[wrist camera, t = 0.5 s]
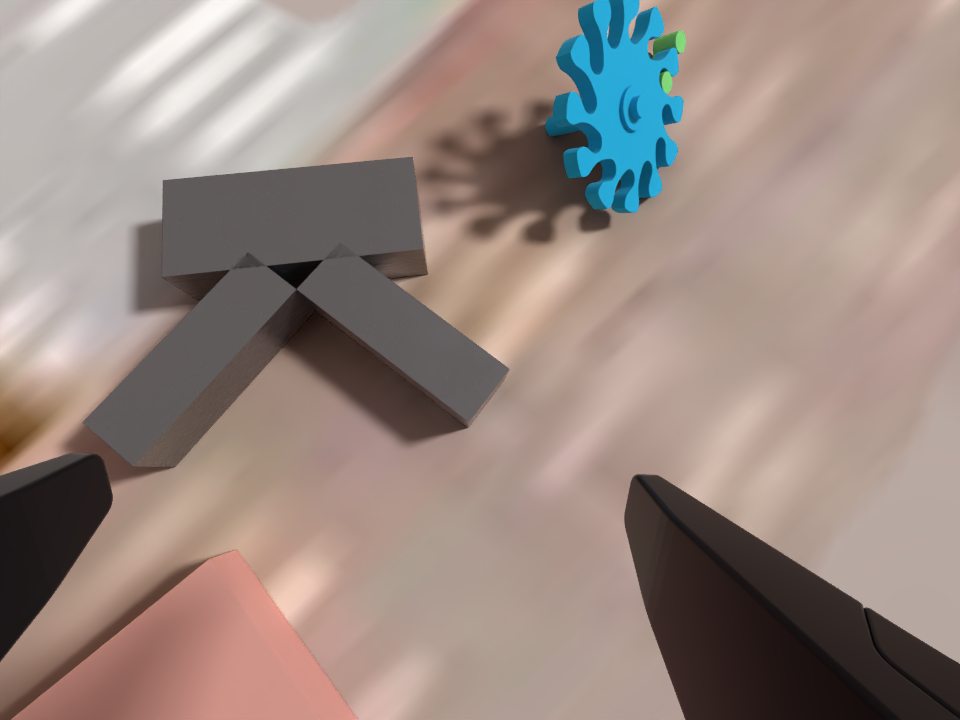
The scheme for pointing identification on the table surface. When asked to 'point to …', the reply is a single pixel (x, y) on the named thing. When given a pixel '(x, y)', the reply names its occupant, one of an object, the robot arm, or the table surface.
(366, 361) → the table surface
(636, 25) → the gear
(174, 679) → the beam plate
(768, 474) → the table surface
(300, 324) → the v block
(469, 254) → the table surface
